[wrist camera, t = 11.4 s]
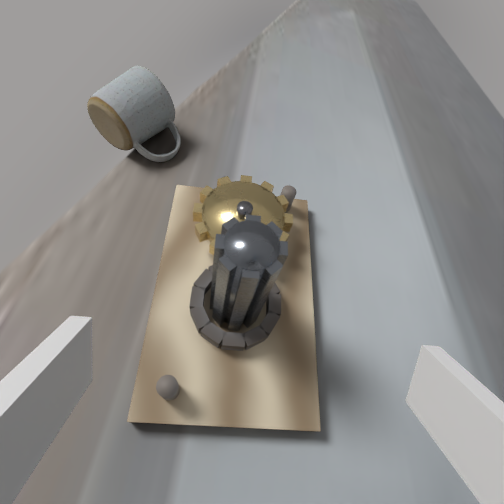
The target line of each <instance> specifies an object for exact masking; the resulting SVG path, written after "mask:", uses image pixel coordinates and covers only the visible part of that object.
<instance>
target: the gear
mask: <svg viewBox="0 0 504 504" xmlns="http://www.w3.org/2000/svg"><path fill="white" fill-rule="evenodd" d="M251 182H252V176H244V175H241V179H240V181H235V182H231V181H230V179H229V177H228V176H227V177H223V178H220V179H218V183H217V188H215V189H212V188H210V187H209V186H206V187H205V188H204V189H203V190H202V191H201V192H200V202H201V203H203V204H201V203H194V208H193V221H195V222H201V223H198V224H195V234H196V236H197V238H198V240H199V242H203V241H205V240H209V241H210V244H209V253H210V254H212V255H214V248H215V239H216V234H221V229H222V224H224V223H225V222H227V221H228V220H230V219H231V218H233V217H235V218H236V219H237V220H238V221H239V222H241V221H244V219H245V215H246V214H248V215H257V216H261V223H263V224H265V225H267V224H269V223H270V222H271V221H272V222H274V223H275V224H276V225H277V226H278V227H279V228H280V229H281V230H282V231H283V232H282V235H281V237H280V240H279V241H287V240H288V237H289V234H287V233H286V232H290V229H291V227H292V225H293V214H288V213H284V212H286V209H287V207H288V204H289V202H288V201H287V199H286V198H285V196H284V195H281V196H278V197H276V196H275V195H274V194H273V193H272V191H273V187H274V186H273V185H271V184H269V183H268V182H266V181H264V182H263V183H262V184H261V186H260V185H258V184H255V183H251ZM284 231H286V232H284Z"/></svg>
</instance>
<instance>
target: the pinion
mask: <svg viewBox="0 0 504 504" xmlns="http://www.w3.org/2000/svg"><path fill="white" fill-rule="evenodd" d="M282 232H283V231H282V230H281V229H280V228H279V227H278V226H277V225H276V224H275V223H274V222H272V221H271V222H270V223H269V224H267V225H265V224H263V223H261V216H257V215H248V214H246V215H245V219H244V221H241V222H239V221H238V220H237V219H236V218H235V217H233V218H231V219H230V220H228V221H227V222H225V223H224V224H222V229H221V234H216V239H215V248H214V260H213V272H212V285H211V297H210V309H213V314H212V318H213V319H214V320H215V321H216V323H217V324H218V325H219V326H220V325H221V324H223V323H224V322H225V323H227V324H228V330H233V331H239V330H240V327H241V325H242V324H244V325H245V326H246V327H247V328H248V327H250V326H251V325H252V324H253V323H254V322H255V321H256V320H257V318H258V316H259V314H260V312H261V310H262V308H263V306H264V304H265V302H266V300H267V298H268V296H269V294H270V292H271V289H272V287H273V285H274V283H275V281H276V279H277V277H278V275H279V273H280V271H281V269H282V267H283V265H284V263H285V261H286V259H287V257H288V242H287V241H279V240H280V237H281V235H282Z"/></svg>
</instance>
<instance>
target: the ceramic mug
mask: <svg viewBox="0 0 504 504" xmlns="http://www.w3.org/2000/svg"><path fill="white" fill-rule="evenodd" d="M87 107H88V113H89V115H90V118H91V120H92V122H93V124H94V125H95V127H96V128H97V129H98V131H99V132H100V134H101V135H102V136H103V137H104V138H105V139H106V140H107V141H108V142H109V143H110V144H112V145H113V146H115V147H117V148H118V149H121V150H130V149H132V148H136V150H137V151H138V152H139V153H140V154H141V155H142V156H144V157H146V158H147V159H149V160H151V161H155V162H164V161H168V160H170V159H171V158H173V157H174V156H175V155H176V154H177V152H178V150H179V148H180V145H181V141H180V135H179V132H178V130H177V128H176V126H175V124H174V123H173V121H174V119H175V109H174V105H173V102H172V99H171V97H170V95H169V93H168V91H167V90H166V88H165V86H164V85H163V84H162V82H161V81H160V80H159V79H158V77H157V76H155V74H153V73H152V72H151V71H149V69H147V68H144V67H142V66H134V67H132V68H131V69H129V70H128V71H126V72H125V73H123V74H122V75H120V76H119V77H117V78H116V79H114V80H113V81H112V82H110V83H109V84H107V85H106V86H104V87H102V88H101V89H99V90H98V91H96V92H95V94H94V95H92V97H91V98H90V99H89V101H88V106H87ZM167 127H168V128H169V129H170V131H171V132H172V134H173V136H174V138H175V141H176V147H175V149H174V150H173V151H171V152H170V153H167V154H161V155H159V154H158V155H156V154H153V153H151V152H149V151H148V150H146V149H145V148H144V147H142V145H141V144H142V143H144V142H145V141H146V140H148V139H149V138H151V137H152V136H154V135H156V134H157V133H159V132H161V131H162V130H164V129H165V128H167Z"/></svg>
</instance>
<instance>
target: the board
mask: <svg viewBox="0 0 504 504" xmlns="http://www.w3.org/2000/svg"><path fill="white" fill-rule="evenodd" d="M203 189H204V188H199V187H191V186H183V185H177V186H176V191H175V195H174V200H173V205H172V210H171V214H170V219H169V224H168V229H167V233H166V238H165V243H164V248H163V253H162V257H161V262H160V267H159V272H158V276H157V281H156V286H155V291H154V295H153V300H152V305H151V310H150V315H149V319H148V324H147V329H146V334H145V338H144V343H143V348H142V353H141V357H140V362H139V367H138V372H137V377H136V381H135V386H134V391H133V396H132V400H131V405H130V410H129V415H128V419H127V422H135V423H155V424H175V425H195V426H215V427H235V428H255V429H275V430H295V431H321V430H320V412H319V395H318V378H317V361H316V343H315V326H314V309H313V292H312V274H311V257H310V240H309V223H308V205H307V200H299V199H294V198H295V195H296V189H295V188H294V187H292V186H285V187H283V189H282V192H281V195H284V196H285V198H286V199H287V201H288V202H289V204H288V207H287V209H286V212H284V213H288V214H293V225H292V227H291V229H290V232H286V231H284V232H286V233H287V234H289V237H288V240H287V242H288V257H287V259H286V261H285V263H284V265H283V267H282V269H281V271H280V273H279V275H278V277H277V279H276V281H275V283H274V285H273V287H272V289H271V292H270V294H269V296H268V298H267V300H266V302H265V304H264V306H263V308H262V310H261V312H260V314H259V316H258V318H257V320H256V321H255V322H254V323H253V324H252V325H251V326H250V327H248V328H247V327H246V326H245V325H244V324H242V325H241V327H240V330H239V331H233V330H228V324H227V323H225V322H224V323H223V324H221V325H220V326H219V325H218V324H217V323H216V321H215V320H214V319H213V318H212V314H213V309H210V297H211V285H212V272H213V260H214V255H212V254H210V253H209V244H210V241H209V240H205V241H203V242H199V240H198V238H197V236H196V234H195V224H198V223H201V222H195V221H193V208H194V203H201V202H200V192H201V191H202V190H203ZM281 195H280V196H281ZM201 204H203V203H201Z"/></svg>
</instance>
